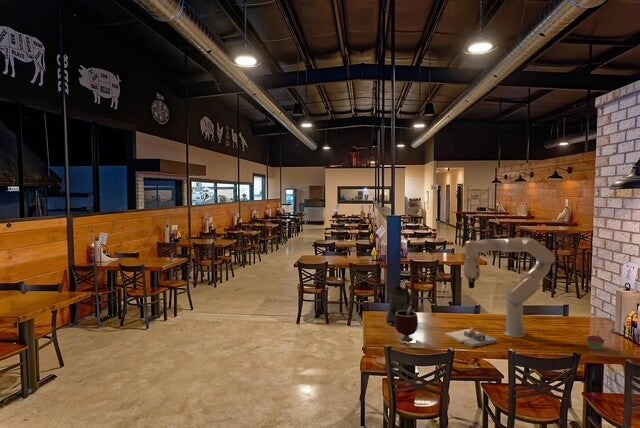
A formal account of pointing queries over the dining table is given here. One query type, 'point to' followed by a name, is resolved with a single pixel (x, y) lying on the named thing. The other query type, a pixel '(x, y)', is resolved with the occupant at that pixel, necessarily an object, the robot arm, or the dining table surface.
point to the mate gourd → (406, 323)
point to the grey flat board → (471, 338)
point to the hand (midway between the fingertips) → (471, 287)
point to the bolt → (474, 332)
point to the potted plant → (397, 303)
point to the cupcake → (595, 341)
